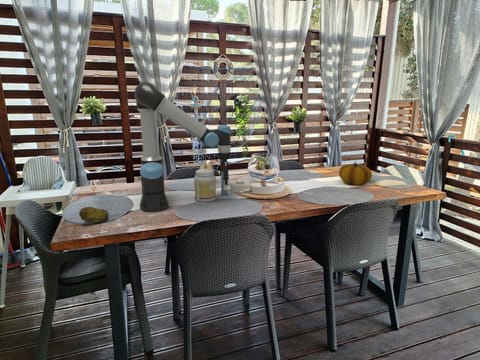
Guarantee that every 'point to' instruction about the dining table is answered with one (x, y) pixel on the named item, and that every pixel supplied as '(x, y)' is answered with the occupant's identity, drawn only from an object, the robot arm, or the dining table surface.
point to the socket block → (239, 185)
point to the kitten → (207, 166)
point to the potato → (93, 214)
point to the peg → (223, 192)
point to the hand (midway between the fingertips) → (224, 186)
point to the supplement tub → (205, 185)
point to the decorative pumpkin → (355, 174)
